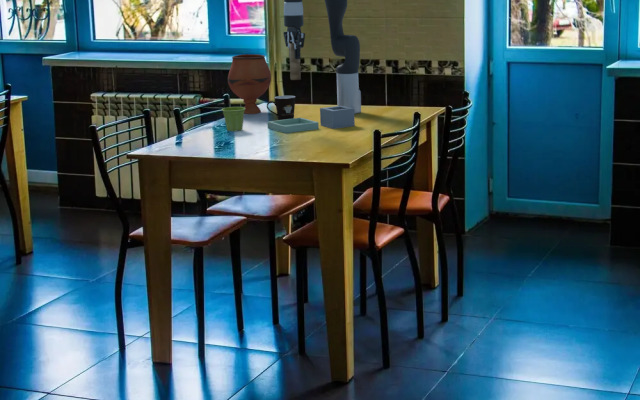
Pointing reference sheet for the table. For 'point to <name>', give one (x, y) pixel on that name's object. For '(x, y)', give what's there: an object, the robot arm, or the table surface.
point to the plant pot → (234, 118)
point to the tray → (293, 125)
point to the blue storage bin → (337, 117)
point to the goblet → (249, 79)
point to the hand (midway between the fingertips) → (294, 58)
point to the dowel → (294, 64)
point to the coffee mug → (284, 107)
